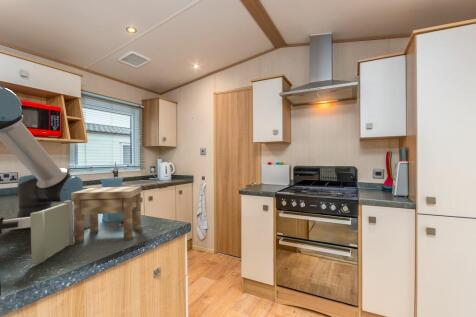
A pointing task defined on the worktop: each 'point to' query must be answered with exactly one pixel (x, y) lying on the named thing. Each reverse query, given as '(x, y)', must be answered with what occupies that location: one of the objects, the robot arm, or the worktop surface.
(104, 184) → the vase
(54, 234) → the pale green flat panel
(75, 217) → the stool
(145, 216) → the worktop surface
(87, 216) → the flask
